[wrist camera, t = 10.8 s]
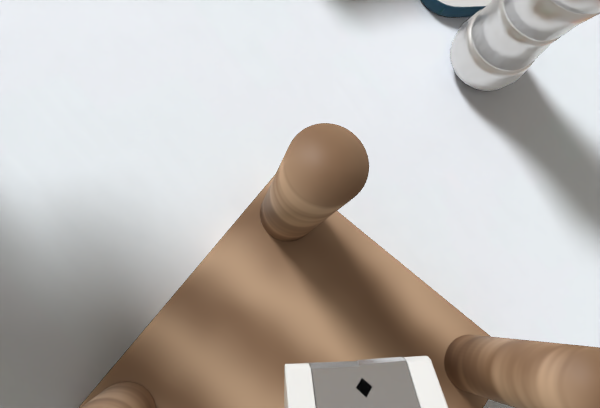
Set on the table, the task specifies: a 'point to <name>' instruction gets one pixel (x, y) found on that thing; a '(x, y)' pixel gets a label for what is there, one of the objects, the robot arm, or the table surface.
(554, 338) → the table surface
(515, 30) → the plastic bottle
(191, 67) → the table surface
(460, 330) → the stool
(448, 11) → the external hard drive
